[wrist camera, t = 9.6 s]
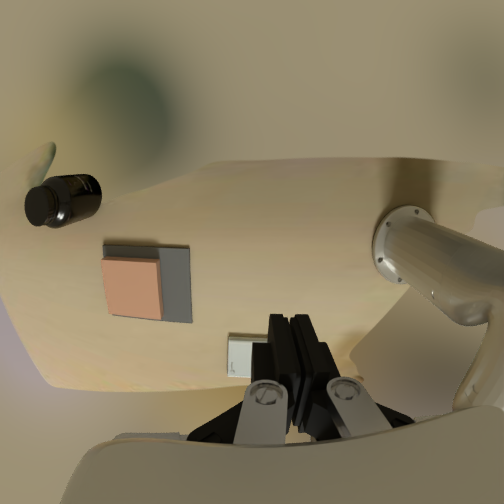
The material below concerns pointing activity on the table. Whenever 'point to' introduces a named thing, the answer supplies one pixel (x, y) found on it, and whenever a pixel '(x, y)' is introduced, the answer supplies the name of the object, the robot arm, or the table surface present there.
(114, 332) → the table surface
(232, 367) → the hard drive
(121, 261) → the tile
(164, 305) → the mat
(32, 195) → the supplement bottle
